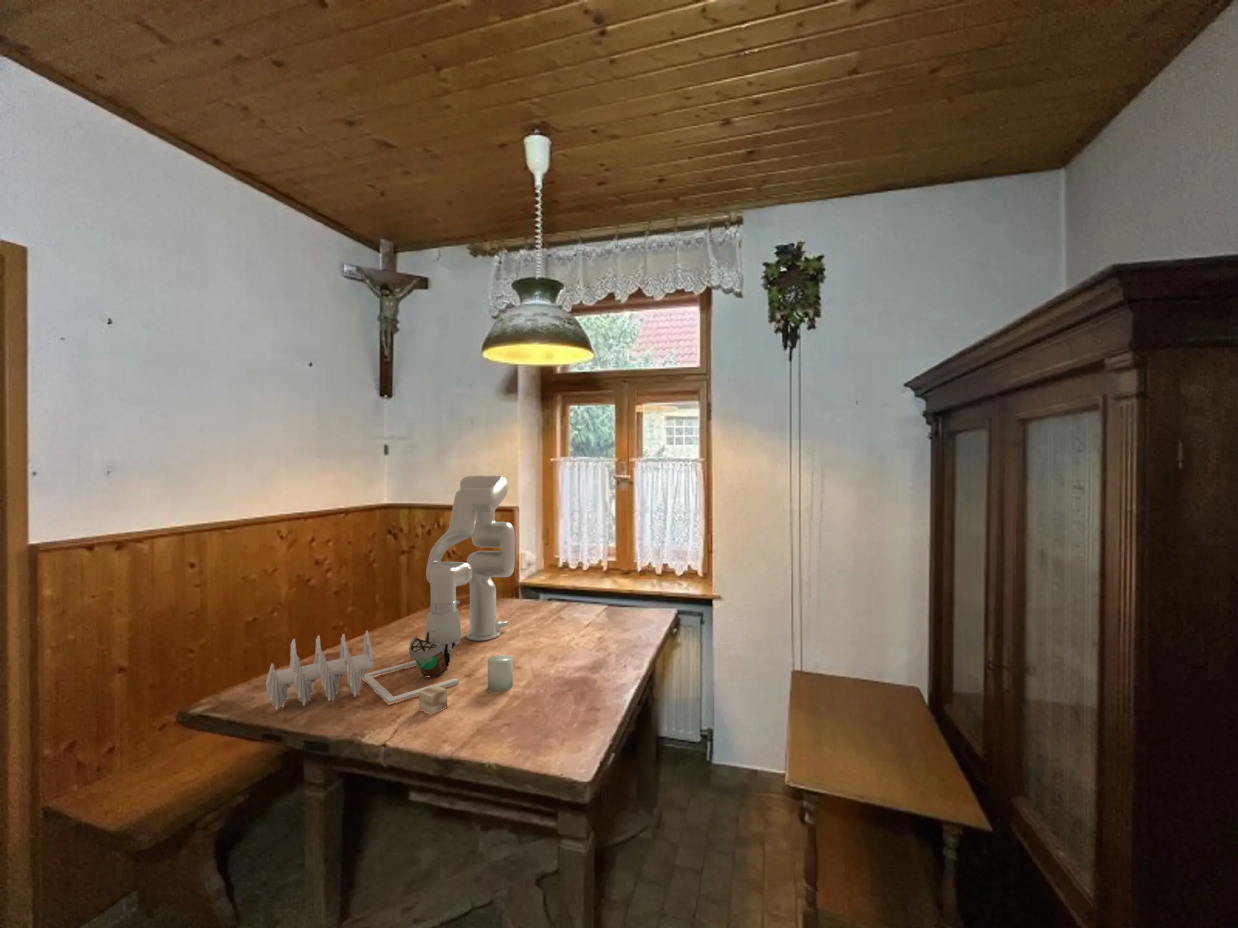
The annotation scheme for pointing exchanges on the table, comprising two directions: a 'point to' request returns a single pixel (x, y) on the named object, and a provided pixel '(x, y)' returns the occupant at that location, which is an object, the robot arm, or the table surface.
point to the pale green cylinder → (500, 673)
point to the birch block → (433, 699)
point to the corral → (391, 699)
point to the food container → (428, 657)
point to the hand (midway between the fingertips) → (444, 665)
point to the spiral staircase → (319, 673)
